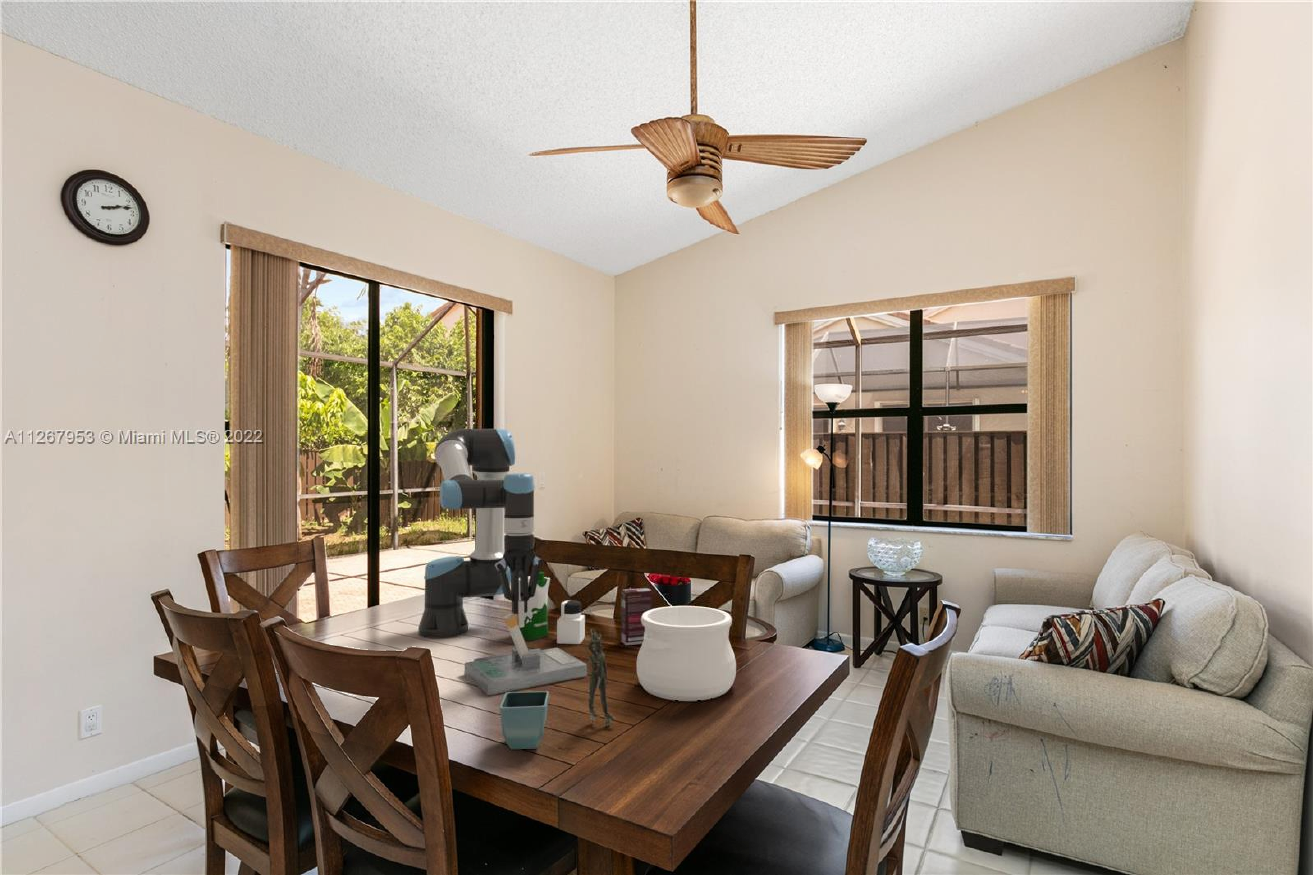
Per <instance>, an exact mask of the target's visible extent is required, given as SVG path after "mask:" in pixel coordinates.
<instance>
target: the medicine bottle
mask: <svg viewBox="0 0 1313 875" xmlns="http://www.w3.org/2000/svg"><path fill="white" fill-rule="evenodd" d="M560 604H561V605H560V606H561V607H560V612H561V613H560V615H561V616H560V617H559V618H557V620H556V644H561V645H562V644H565V645H569V644H570V645H580V644H582V642H583V641H584V639H585V638H586V635H585V634H586V632H585V631H586V630H585V629H586V628H585V627H586V625H585V624H586V615H585V614H582V603H581V602H580V601H579V600H575V599H570V600H564V601H562V602H561V603H560Z"/></svg>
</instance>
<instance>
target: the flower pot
mask: <svg viewBox="0 0 1313 875" xmlns="http://www.w3.org/2000/svg"><path fill="white" fill-rule="evenodd" d="M549 694H550V693H549V691H548V690H545V691H540V690H539V691H537V690H536V691H509V692H504V695H503V699H502V701H501V704H500V705H499V715H500V722H501V731H502V735H503V738H504V740H505V741H504V742H505V744H507V746H508V748H510V750H525V749H526V750H528V749H529V750H532V749H534V750H535V749H537V748H538V747H539V744H540V743H541V740H542V738H543V735H544V731H545V724H546V720H547V714H548V706H549V704H548V703H549Z"/></svg>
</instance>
